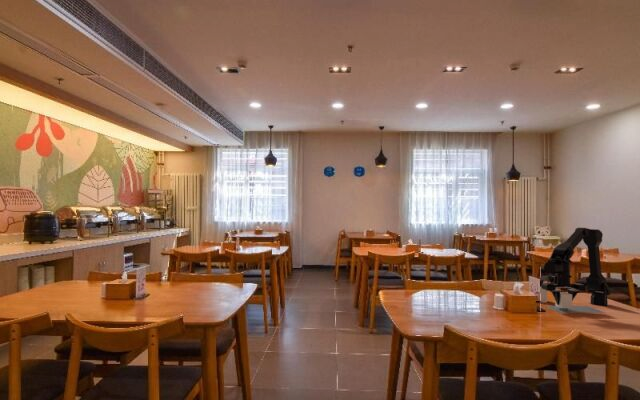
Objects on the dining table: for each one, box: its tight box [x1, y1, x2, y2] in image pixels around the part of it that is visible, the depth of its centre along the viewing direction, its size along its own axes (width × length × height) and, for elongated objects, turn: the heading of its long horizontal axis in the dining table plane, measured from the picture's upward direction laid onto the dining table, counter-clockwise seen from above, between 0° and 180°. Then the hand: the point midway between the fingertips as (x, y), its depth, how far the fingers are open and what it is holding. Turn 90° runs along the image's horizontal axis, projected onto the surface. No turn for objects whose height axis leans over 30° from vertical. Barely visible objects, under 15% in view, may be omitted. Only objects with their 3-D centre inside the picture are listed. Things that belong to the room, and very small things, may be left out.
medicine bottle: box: [538, 278, 548, 303], centre depth 218 cm, size 7×7×12 cm
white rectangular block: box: [554, 291, 573, 308], centre depth 197 cm, size 5×5×7 cm
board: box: [544, 305, 606, 314], centre depth 198 cm, size 22×14×1 cm, turn 89°
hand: (563, 304), depth 197 cm, fingers closed on white rectangular block, 5 cm apart
